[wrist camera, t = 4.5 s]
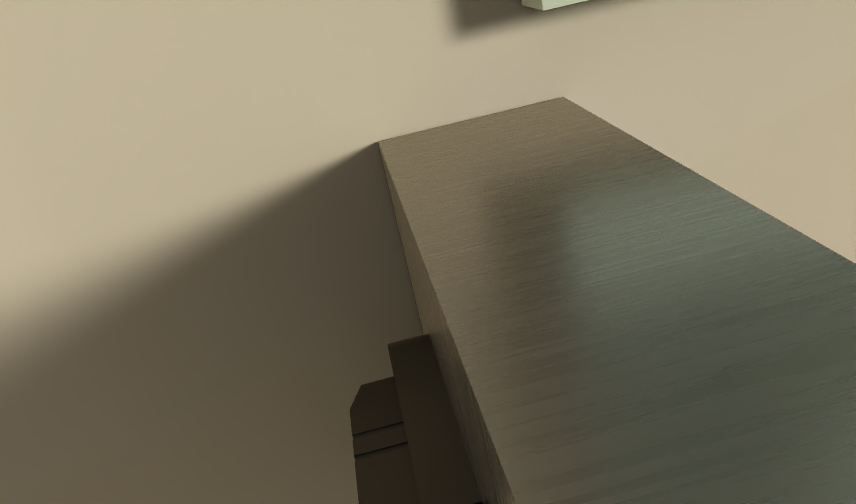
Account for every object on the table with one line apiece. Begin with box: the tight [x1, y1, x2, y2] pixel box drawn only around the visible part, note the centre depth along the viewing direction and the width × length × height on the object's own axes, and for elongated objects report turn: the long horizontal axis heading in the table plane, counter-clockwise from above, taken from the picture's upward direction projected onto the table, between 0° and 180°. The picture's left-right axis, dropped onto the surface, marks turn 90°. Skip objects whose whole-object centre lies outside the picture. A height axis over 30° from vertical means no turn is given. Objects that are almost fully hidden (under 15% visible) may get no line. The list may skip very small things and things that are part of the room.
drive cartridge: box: [378, 97, 856, 504], centre depth 8 cm, size 7×3×9 cm, turn 12°
